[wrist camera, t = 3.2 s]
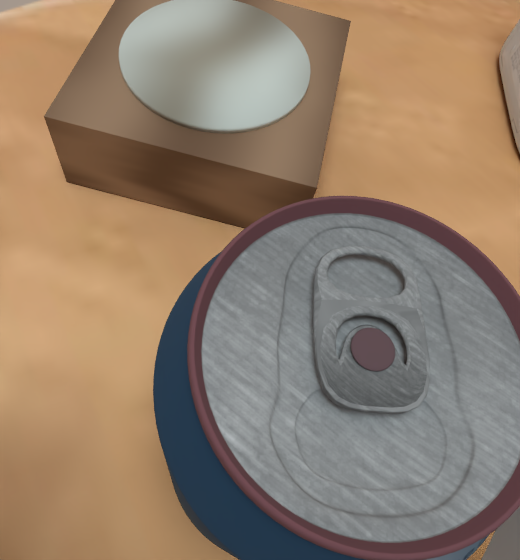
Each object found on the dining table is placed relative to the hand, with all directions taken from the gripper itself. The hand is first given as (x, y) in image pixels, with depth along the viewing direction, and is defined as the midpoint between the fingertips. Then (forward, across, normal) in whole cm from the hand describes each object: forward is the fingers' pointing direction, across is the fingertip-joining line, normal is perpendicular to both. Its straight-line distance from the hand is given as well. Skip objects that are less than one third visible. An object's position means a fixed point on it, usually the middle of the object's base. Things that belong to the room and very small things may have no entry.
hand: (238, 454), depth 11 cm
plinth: (+16, -4, +7) cm, 18 cm away
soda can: (+6, +2, -4) cm, 7 cm away
